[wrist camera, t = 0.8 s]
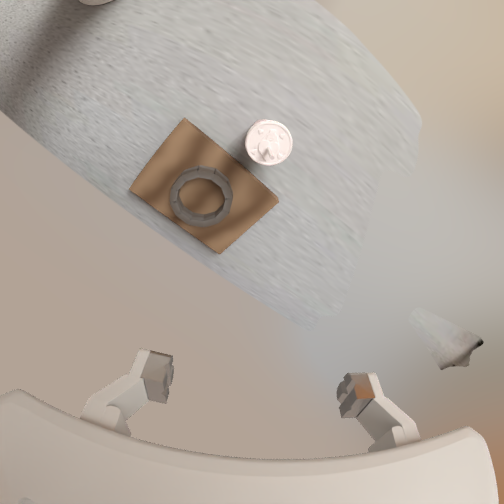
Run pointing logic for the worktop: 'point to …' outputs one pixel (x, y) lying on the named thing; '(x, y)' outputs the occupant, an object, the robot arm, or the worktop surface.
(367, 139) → the worktop surface
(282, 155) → the smoothie
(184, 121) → the stand
